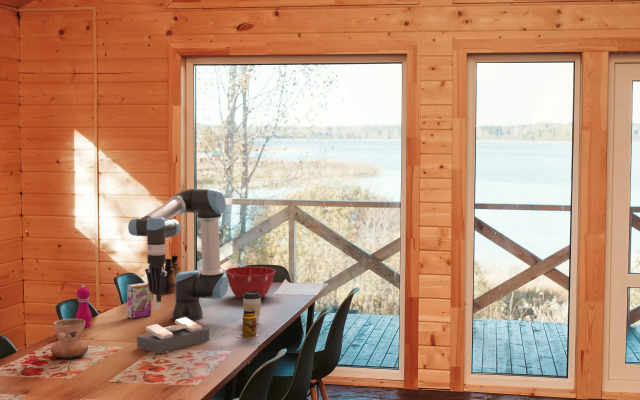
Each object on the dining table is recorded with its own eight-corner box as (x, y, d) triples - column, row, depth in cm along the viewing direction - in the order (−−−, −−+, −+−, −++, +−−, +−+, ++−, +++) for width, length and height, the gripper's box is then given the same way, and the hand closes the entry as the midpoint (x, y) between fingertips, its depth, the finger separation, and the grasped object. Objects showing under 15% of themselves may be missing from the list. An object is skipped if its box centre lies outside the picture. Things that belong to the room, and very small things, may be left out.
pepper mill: (95, 325, 347) (94, 284, 345) (84, 328, 340) (83, 286, 339) (83, 323, 350) (82, 282, 349) (72, 327, 343) (71, 285, 342)
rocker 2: (160, 333, 315) (159, 328, 316) (171, 330, 320) (171, 325, 320) (176, 331, 308) (175, 326, 309) (188, 329, 313) (187, 323, 314)
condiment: (253, 338, 324) (253, 312, 323) (235, 337, 327) (235, 311, 326) (259, 334, 331) (259, 308, 330) (242, 333, 334) (242, 307, 333)
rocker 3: (174, 324, 322) (175, 319, 321) (185, 321, 327) (186, 316, 326) (190, 333, 315) (191, 328, 315) (201, 331, 320) (202, 326, 319)
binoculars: (173, 294, 421) (172, 259, 420) (159, 293, 422) (159, 259, 421) (183, 288, 439) (183, 255, 438) (170, 287, 440) (170, 254, 439)
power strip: (137, 348, 308) (137, 335, 308) (193, 333, 332) (193, 321, 332) (158, 354, 300) (158, 340, 299) (214, 338, 324) (214, 326, 323)
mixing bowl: (285, 295, 417) (285, 269, 416) (254, 305, 393) (254, 276, 392) (246, 290, 432) (246, 264, 431) (214, 299, 408) (214, 271, 407)
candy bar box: (132, 319, 359) (131, 286, 358) (126, 317, 363) (126, 285, 362) (151, 315, 367) (151, 283, 366) (146, 314, 371) (146, 282, 370)
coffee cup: (258, 325, 348) (258, 294, 347) (240, 324, 350) (239, 293, 349) (263, 320, 357) (263, 290, 356) (245, 320, 359) (245, 289, 358)
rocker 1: (144, 331, 309) (145, 326, 309) (156, 328, 314) (157, 323, 314) (161, 341, 303) (161, 336, 302) (173, 338, 308) (173, 333, 307)
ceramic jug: (79, 362, 288) (79, 326, 287) (43, 361, 289) (43, 325, 288) (95, 350, 306) (95, 317, 305) (61, 349, 307) (61, 316, 306)
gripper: (139, 253, 309) (140, 308, 311) (158, 256, 301) (159, 312, 303) (153, 251, 315) (154, 305, 317) (173, 254, 307) (174, 309, 308)
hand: (157, 308), depth 310 cm, fingers closed
